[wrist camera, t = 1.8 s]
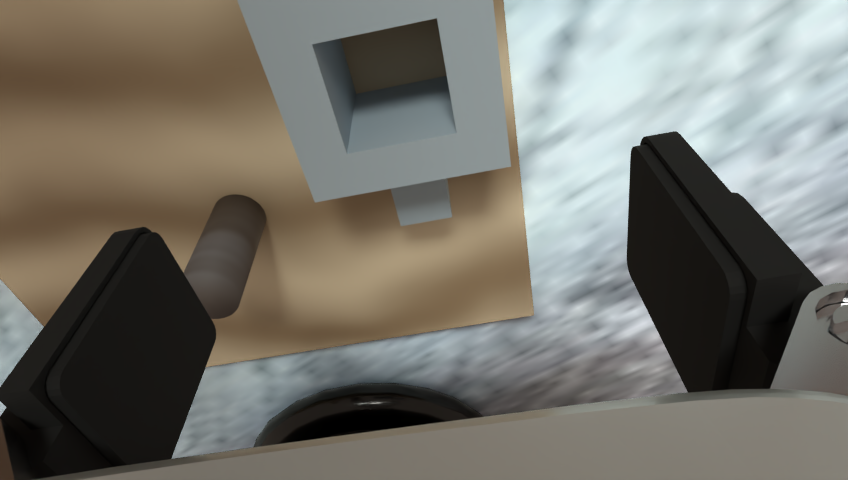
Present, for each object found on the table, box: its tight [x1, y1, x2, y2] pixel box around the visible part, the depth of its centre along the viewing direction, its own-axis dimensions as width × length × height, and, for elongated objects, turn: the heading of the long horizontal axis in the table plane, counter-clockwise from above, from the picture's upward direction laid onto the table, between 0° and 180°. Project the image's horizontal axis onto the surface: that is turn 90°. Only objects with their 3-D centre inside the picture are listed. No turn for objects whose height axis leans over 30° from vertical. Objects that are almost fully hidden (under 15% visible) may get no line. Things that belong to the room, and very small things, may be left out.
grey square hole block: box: [237, 0, 511, 226], centre depth 18 cm, size 9×6×4 cm
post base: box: [0, 0, 534, 367], centre depth 22 cm, size 19×24×6 cm
